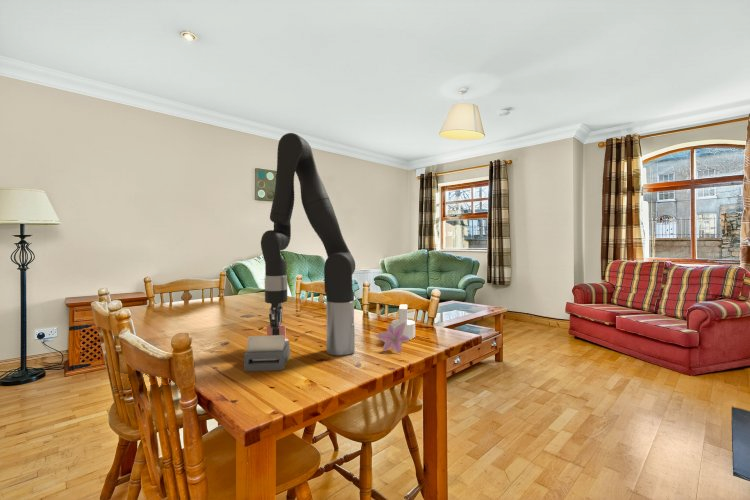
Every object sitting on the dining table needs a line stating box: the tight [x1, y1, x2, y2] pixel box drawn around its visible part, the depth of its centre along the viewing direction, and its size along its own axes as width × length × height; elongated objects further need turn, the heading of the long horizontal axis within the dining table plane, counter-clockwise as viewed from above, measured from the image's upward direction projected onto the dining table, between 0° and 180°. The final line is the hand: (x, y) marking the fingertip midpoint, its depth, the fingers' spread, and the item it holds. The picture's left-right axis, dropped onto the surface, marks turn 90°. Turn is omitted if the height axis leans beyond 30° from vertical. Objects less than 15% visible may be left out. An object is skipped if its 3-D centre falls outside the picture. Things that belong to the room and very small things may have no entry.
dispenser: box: [243, 335, 291, 372], centre depth 108 cm, size 11×14×9 cm
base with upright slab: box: [391, 303, 416, 339], centre depth 135 cm, size 9×9×12 cm
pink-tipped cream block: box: [252, 324, 289, 361], centre depth 113 cm, size 8×20×6 cm, turn 6°
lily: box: [375, 322, 412, 354], centre depth 120 cm, size 11×11×9 cm
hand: (276, 337), depth 122 cm, fingers closed on pink-tipped cream block, 2 cm apart
